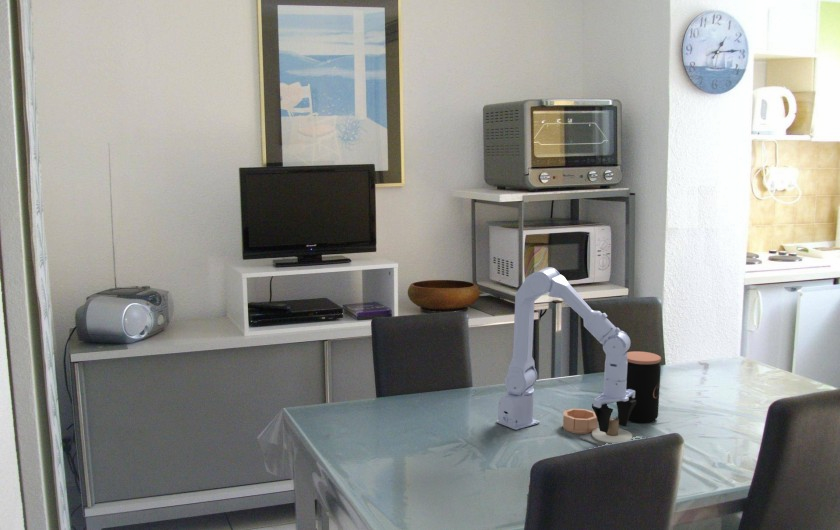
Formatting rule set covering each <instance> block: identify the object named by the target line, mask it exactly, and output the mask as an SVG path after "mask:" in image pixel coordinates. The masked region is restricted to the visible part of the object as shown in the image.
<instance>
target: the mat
mask: <svg viewBox="0 0 840 530" xmlns="http://www.w3.org/2000/svg"><path fill="white" fill-rule="evenodd" d="M619 429H622V428H620V427H619ZM627 431H628V432H630V433H631V434H632V438H633V437H636V436H641V434H638V433H634V432H632V431H630V430H627ZM642 438H645V436H643V437H642ZM578 439H580V440H582V441H585V442H587V441H588V443H590V444H593V445H595V446H597V447H600V446H602V445H605V444H606V443H604V442H600V441H598V440H595V439H594V438H593V437H592V433H590V434H582V435H580V436H578ZM635 439H640V438H635ZM632 440H633V439H632ZM608 444H610V443H608Z"/></svg>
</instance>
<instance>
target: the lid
mask: <svg viewBox="0 0 840 530" xmlns="http://www.w3.org/2000/svg"><path fill="white" fill-rule="evenodd" d="M619 428H620V425H619V419H618V417H613V416H612V417H611V416H610V420H609V428H608V432H607V433H605V432H602V431H600V429H599V427H597V429H594V430H593V431H592V437H593V438H594V439H595V440H598V441H600V442H604V443H610V444H612V443H618V442H623V441H629V440H632V434H631V433H630V432H631V431H629V430H627V429H623V428H621V429H619ZM628 431H629V432H628Z"/></svg>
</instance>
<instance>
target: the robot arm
mask: <svg viewBox="0 0 840 530" xmlns="http://www.w3.org/2000/svg"><path fill="white" fill-rule="evenodd" d="M547 293H548V295H547V296H548V297H550V298H551V297H552V298H556V299H561V300H562V301H563V302H564V303H566V305H568V306H569V307H570V308H571V309H572V310H573V311H574V312H575V313H577V314H578V316H580V317H581V318H582V320H583V327H584V328H585V329H586V330H587V331H588V332H589V333H590V334H591V336H593V337H594V338H595V339H596V340H597V342H599V343H600V344H601V345H602V350H603V352H604V354H605V361H604V377H603V378H604V379H603V392H602V393H601V394H600V395H598V396H597V397H595V398H593V399H592V400H593V403H592V404H591V409H592V411H593V412H595V414H596V417H597V420H598V423H597V425H598V428H599V429H600V431H602V432H605V433H607V432H608V428H609V420H610V417H611V415H612V413H613V411H614V409H613V408H611V407H609V406H608V405H610V404H613V403H616V408H617V419H619V426H621V427H627V426H628V425H627V424H628V422H629V421H628V419H629V416H630V414H631V411H632V410H633V408H634V406H635V405H636V400H633V399H632V398H635V391H634V390H631V389H628V390H626V384H627V365H628V362H627V358H628V357H627V356H628V353H627V352H628V350H629V349H630V347H631V338H630V337H629V335H628V333H627V332H625V331H623V330H621V329H620V328H619V327H616V325H614V324H613V322H611V321H610V319H608V318H607V317H608V314H607V313H606V312H603V313H602V312H601V311H600V310H593V309H592V308H591V306H590V305H588V303H587V302H586V301H585V300H584V299H583V298H582V296H581V295H580V294H579V293H578V292H577V291H576V289H575V288H574V287H573V286H572V284H570V283H569V281H568V280H567V279H566V277H565V276H564V275H562V274H560V272H559V271H558V270H557V269H556V268H554V267H551V266H546V267H543V268H541V270H539V271H538V270H537V271H534V272H532V273H531V274H529V275H527V276H526V277H525V279H524V281H523V283H522V284H521V285H520V287H519V288H518V290H517V291H516V292H515V299H514V323H513V325H514V326H513V345H512V359H511V360H510V364H509V365H508V372H507V374H506V375H505V378H504V384H505V385H504V386H505V388H506V389H507V391H506V393H505V394H503V395H502V396H500V398H499V400H498V418H497V419H496V423H498V424H500V425H502V426H505V427H508V428H510V429H513V430H514V431H515V430H520V429H524V428H527V427H531V426H534V425H537V424H540V420H538V419H535V418H534V406H535V405H534V404H535V403H534V401H535V400H534V399H535V389H534V385H535V383H536V382H537V380H538V372H537V370H536V368H535V367H536V366H535V363H536V361H535V360H534V358H533V343H534V342H533V341H534V321H535V320H534V319H535V302H536V301H537V300H538V299H539V298H540V297H542V296H544V295H545V294H547Z"/></svg>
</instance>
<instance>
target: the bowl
mask: <svg viewBox="0 0 840 530" xmlns="http://www.w3.org/2000/svg"><path fill="white" fill-rule="evenodd" d="M562 412H563V413H562V427H563V430H564V431H566V432H569V433H572V434H576V435H577V434H578V435H586V434H590V433H592V431H593V430H594V429H597V428H598V420H597V417H596V414H595V412H594V410H589V409H586V408H570V409H569V408H568V409H566V410H564V411H562Z"/></svg>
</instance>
